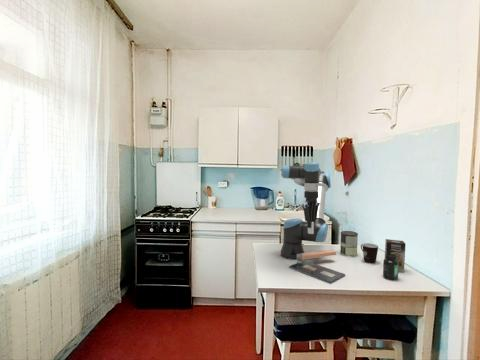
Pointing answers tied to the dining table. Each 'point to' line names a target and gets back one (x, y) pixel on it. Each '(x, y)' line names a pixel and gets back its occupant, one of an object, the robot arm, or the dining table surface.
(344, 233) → the coffee can
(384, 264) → the supplement bottle
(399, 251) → the coffee box
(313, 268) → the label plate
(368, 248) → the coffee mug
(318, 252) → the swing bar
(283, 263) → the dining table surface
